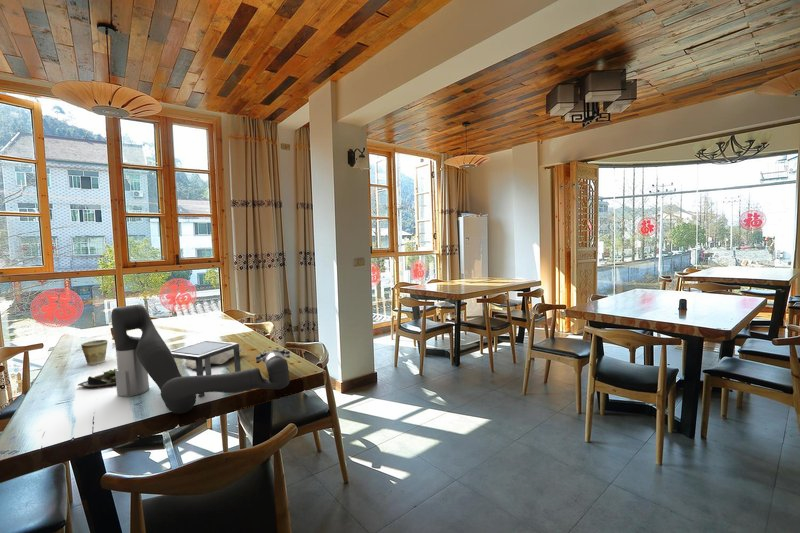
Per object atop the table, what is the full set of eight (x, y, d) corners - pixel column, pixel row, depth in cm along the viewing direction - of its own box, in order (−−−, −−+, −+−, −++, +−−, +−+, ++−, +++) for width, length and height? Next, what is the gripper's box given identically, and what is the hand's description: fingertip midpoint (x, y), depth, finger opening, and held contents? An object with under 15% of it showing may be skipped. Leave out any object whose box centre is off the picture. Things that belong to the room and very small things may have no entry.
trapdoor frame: (201, 397, 138) (198, 357, 137) (167, 391, 146) (163, 352, 144) (241, 379, 155) (238, 343, 154) (208, 374, 163) (206, 339, 161)
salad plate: (98, 375, 168) (97, 365, 167) (144, 370, 172) (143, 360, 172) (73, 392, 149) (72, 380, 149) (125, 386, 154) (124, 374, 153)
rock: (177, 354, 175) (230, 335, 194) (181, 369, 177) (232, 349, 196) (195, 364, 163) (249, 342, 182) (199, 379, 165) (252, 356, 183)
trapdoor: (199, 357, 140) (199, 354, 140) (172, 353, 146) (172, 351, 146) (230, 346, 153) (230, 344, 153) (204, 344, 159) (204, 341, 159)
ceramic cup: (105, 363, 183) (103, 343, 183) (79, 367, 180) (77, 346, 179) (114, 356, 195) (112, 337, 195) (90, 359, 192) (88, 340, 191)
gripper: (256, 374, 149) (255, 363, 165) (294, 367, 154) (289, 357, 170) (254, 355, 148) (253, 346, 164) (292, 349, 154) (287, 340, 170)
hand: (271, 351), depth 167 cm, fingers closed on lemon, 4 cm apart
